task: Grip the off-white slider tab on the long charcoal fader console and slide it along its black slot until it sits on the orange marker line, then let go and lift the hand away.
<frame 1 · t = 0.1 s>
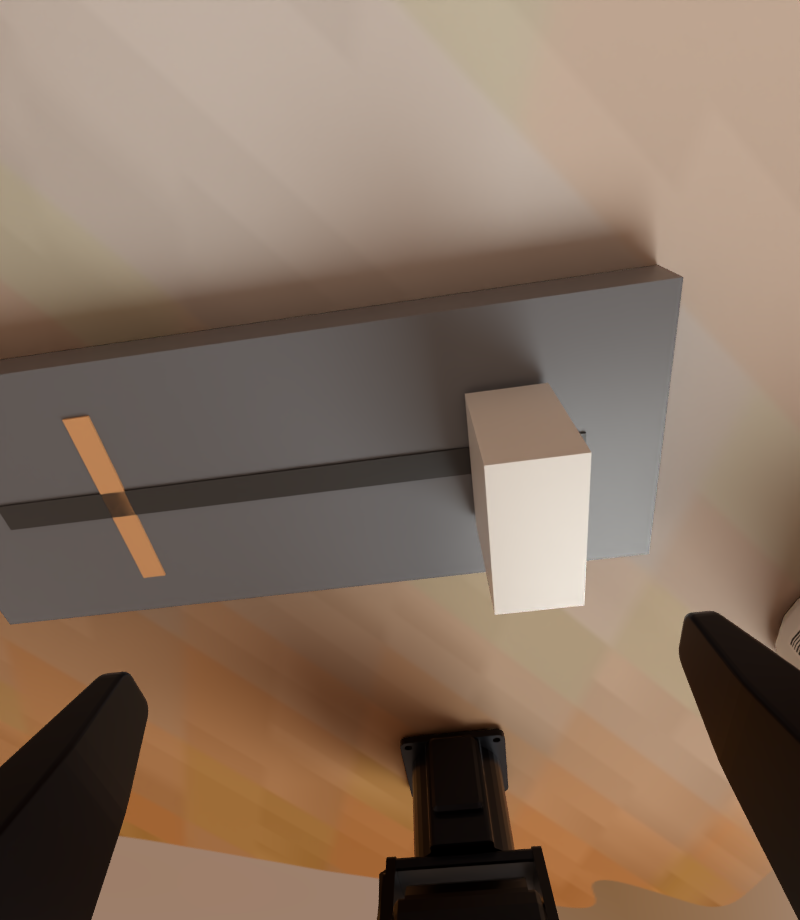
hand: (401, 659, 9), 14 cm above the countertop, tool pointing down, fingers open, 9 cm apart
fader console: (292, 457, 24), on the countertop
fader tab: (522, 495, 19), point 5 cm above the countertop, slide at 0.0 cm
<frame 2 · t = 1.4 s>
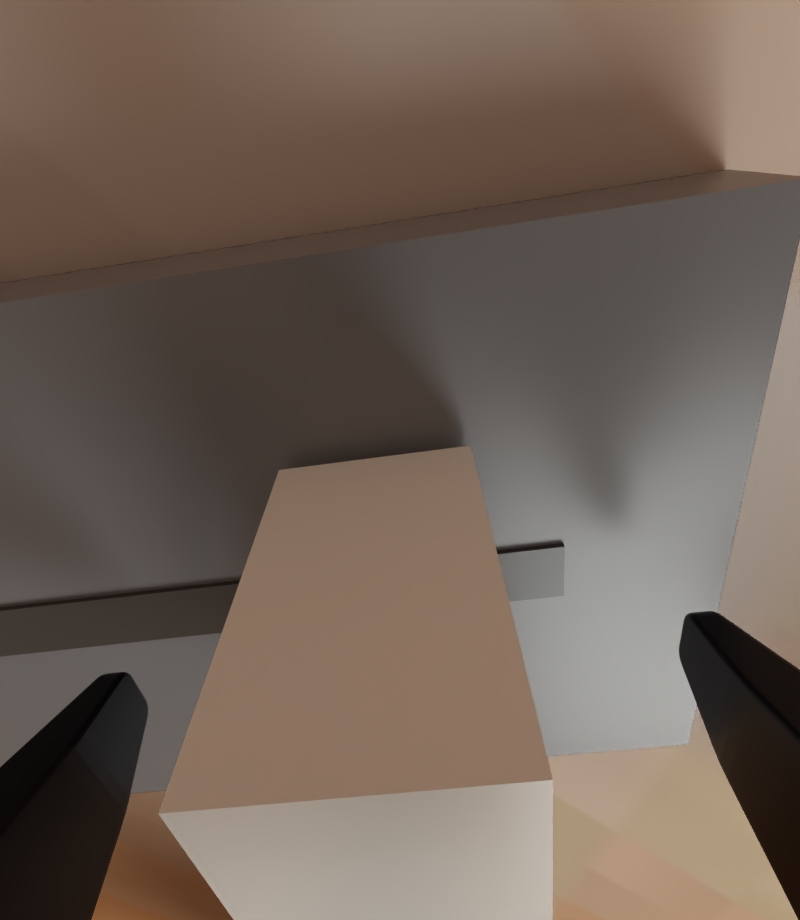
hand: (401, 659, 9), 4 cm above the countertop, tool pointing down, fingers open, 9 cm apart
fader console: (12, 567, 12), on the countertop
fader tab: (402, 726, 8), point 5 cm above the countertop, slide at 0.0 cm
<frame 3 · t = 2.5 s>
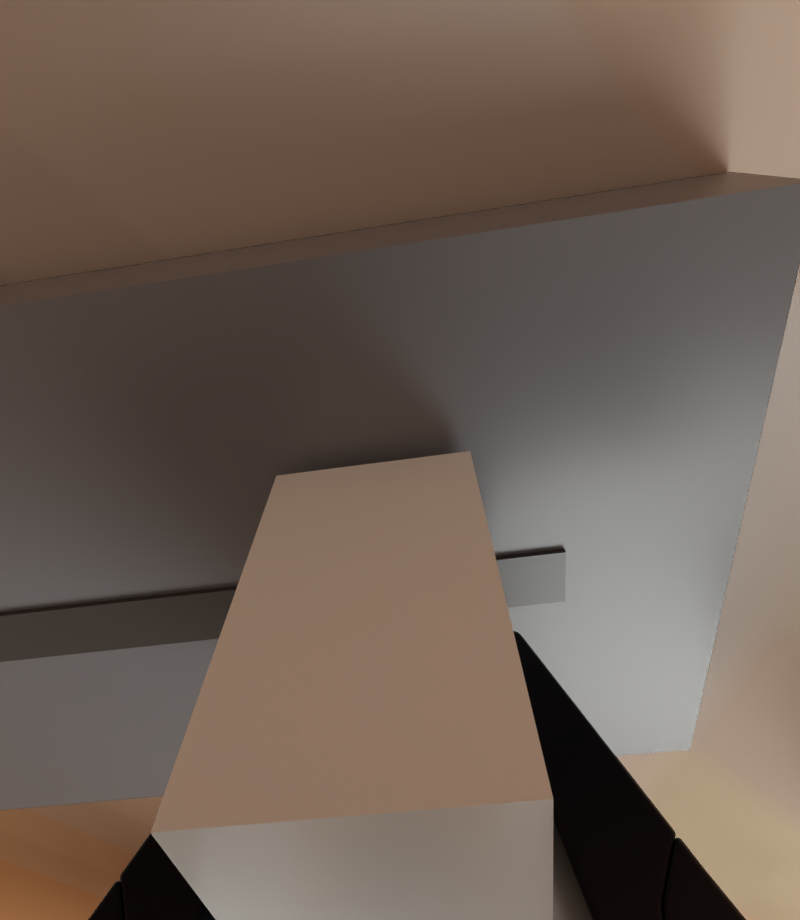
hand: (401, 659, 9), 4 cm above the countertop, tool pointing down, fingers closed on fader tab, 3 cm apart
fader console: (9, 571, 12), on the countertop
fader tab: (401, 735, 8), point 5 cm above the countertop, slide at 0.0 cm, touching gripper
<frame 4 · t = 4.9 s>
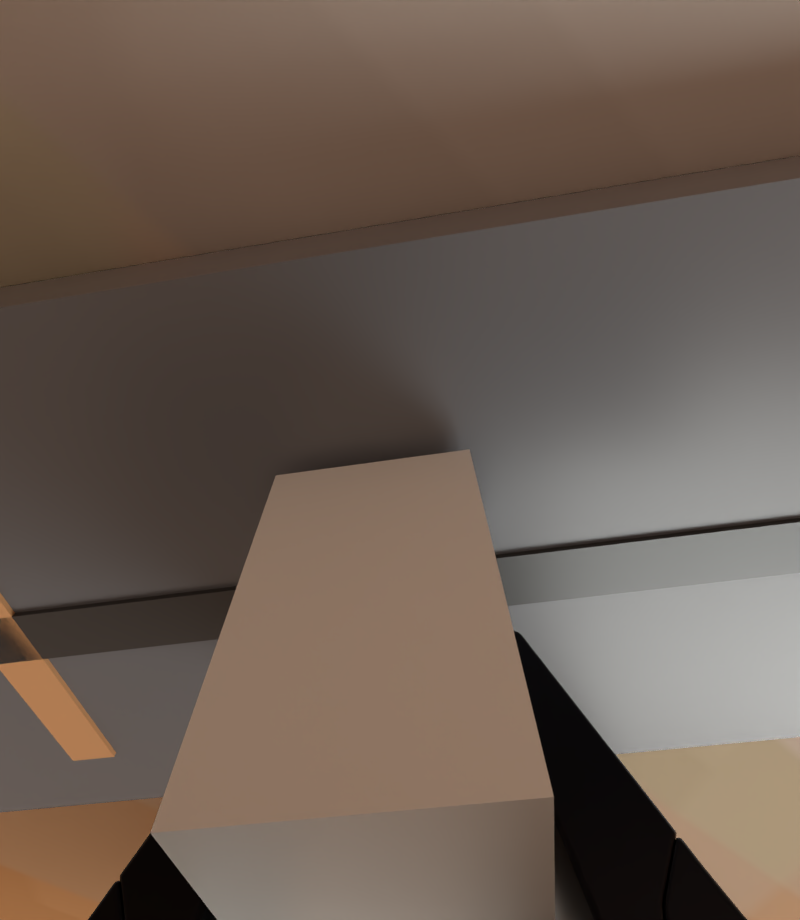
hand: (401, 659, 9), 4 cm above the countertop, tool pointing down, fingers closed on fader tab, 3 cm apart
fader console: (364, 529, 12), on the countertop
fader tab: (402, 734, 8), point 5 cm above the countertop, slide at 8.2 cm, touching gripper
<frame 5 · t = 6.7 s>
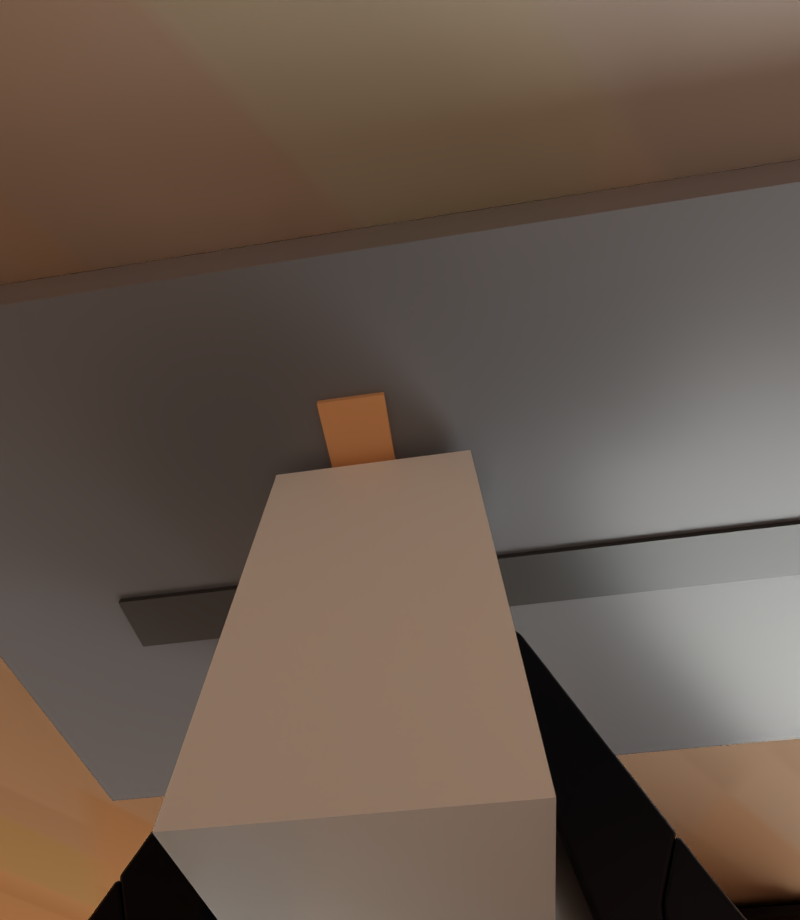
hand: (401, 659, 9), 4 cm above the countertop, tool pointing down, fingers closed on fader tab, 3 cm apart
fader console: (722, 485, 11), on the countertop
fader tab: (402, 734, 8), point 5 cm above the countertop, slide at 15.8 cm, touching gripper
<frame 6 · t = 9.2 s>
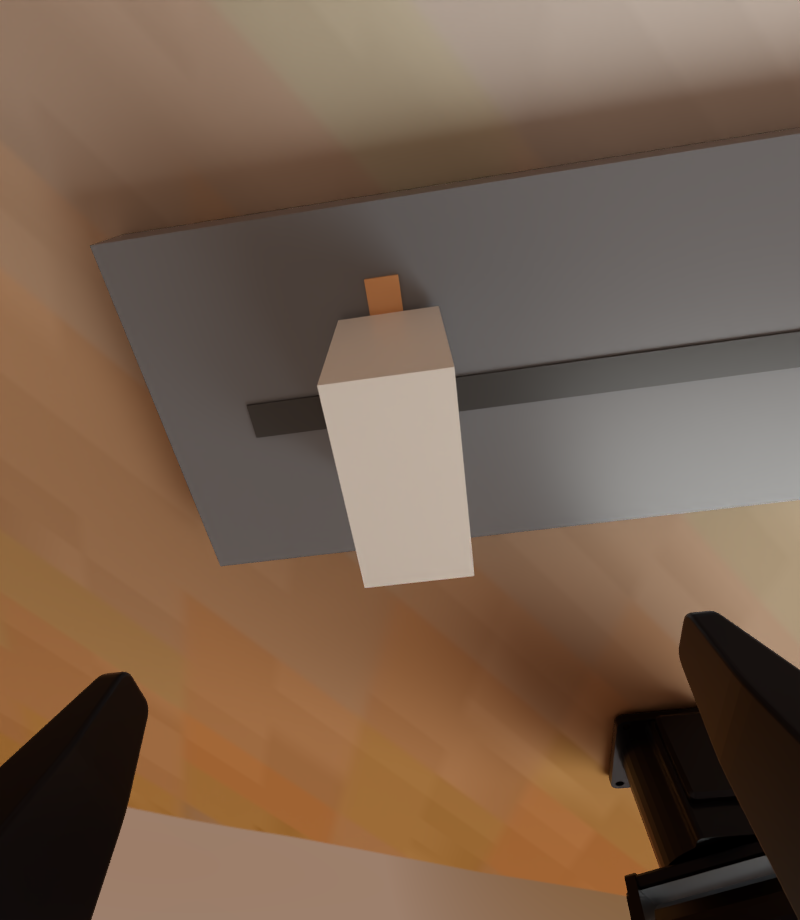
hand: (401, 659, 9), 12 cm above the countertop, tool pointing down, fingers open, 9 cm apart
fader console: (597, 351, 19), on the countertop
fader tab: (403, 441, 15), point 5 cm above the countertop, slide at 15.9 cm
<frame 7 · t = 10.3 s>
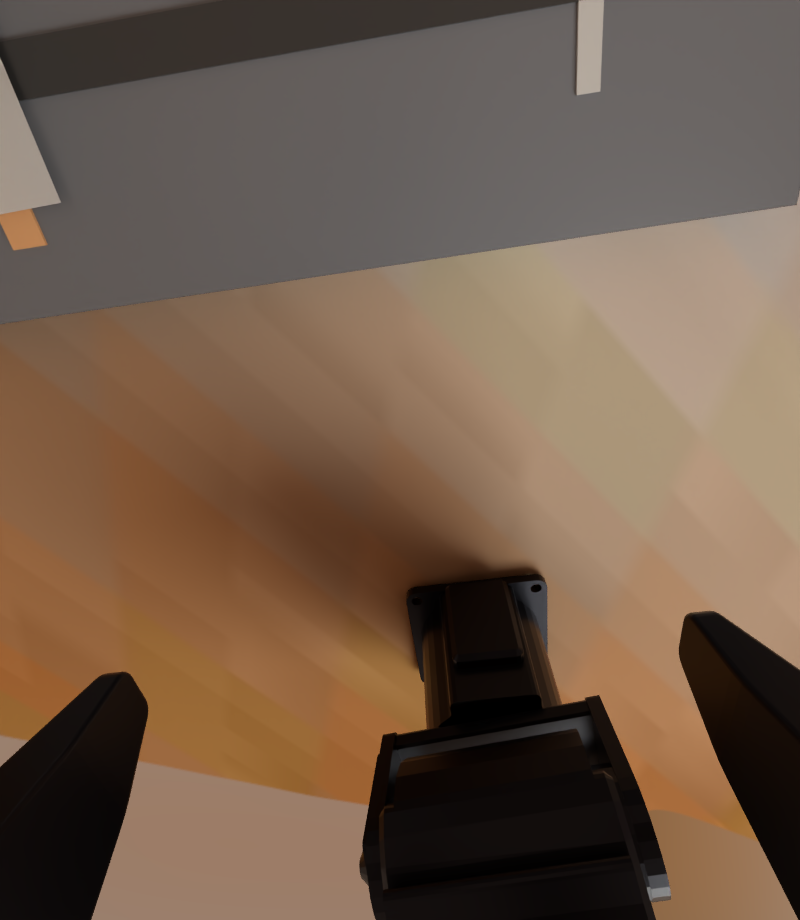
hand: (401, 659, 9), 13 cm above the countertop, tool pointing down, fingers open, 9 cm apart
fader console: (241, 46, 15), on the countertop
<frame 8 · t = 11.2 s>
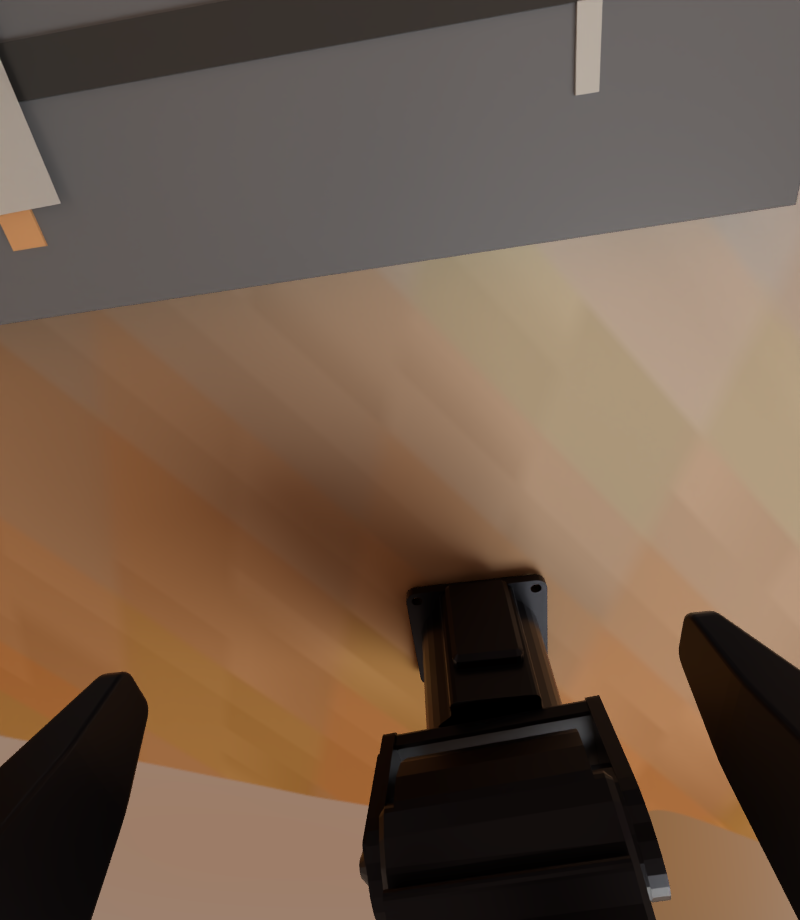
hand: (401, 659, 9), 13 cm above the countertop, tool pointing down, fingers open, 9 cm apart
fader console: (240, 47, 15), on the countertop
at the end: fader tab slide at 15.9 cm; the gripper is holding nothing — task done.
